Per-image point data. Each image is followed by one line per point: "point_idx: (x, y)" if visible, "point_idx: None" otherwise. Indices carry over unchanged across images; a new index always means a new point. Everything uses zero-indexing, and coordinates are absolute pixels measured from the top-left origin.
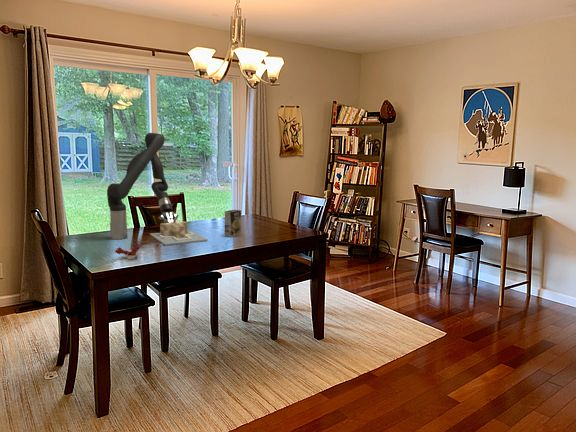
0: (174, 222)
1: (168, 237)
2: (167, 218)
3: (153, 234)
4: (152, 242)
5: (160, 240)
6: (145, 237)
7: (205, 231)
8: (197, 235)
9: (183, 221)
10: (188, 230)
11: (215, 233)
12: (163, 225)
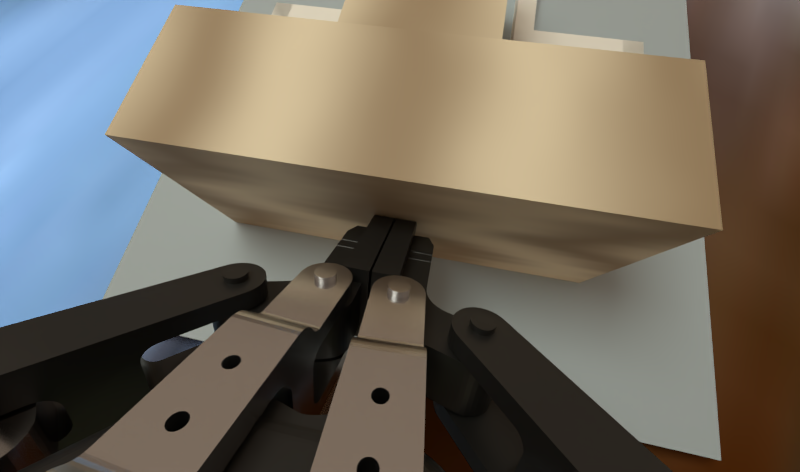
0: (351, 150)
1: (572, 41)
2: (422, 397)
3: (672, 354)
4: (746, 65)
5: (676, 20)
6: (787, 343)
7: (11, 187)
8: (261, 11)
9: (134, 136)
10: (137, 279)
11: (42, 58)
12: (670, 69)
